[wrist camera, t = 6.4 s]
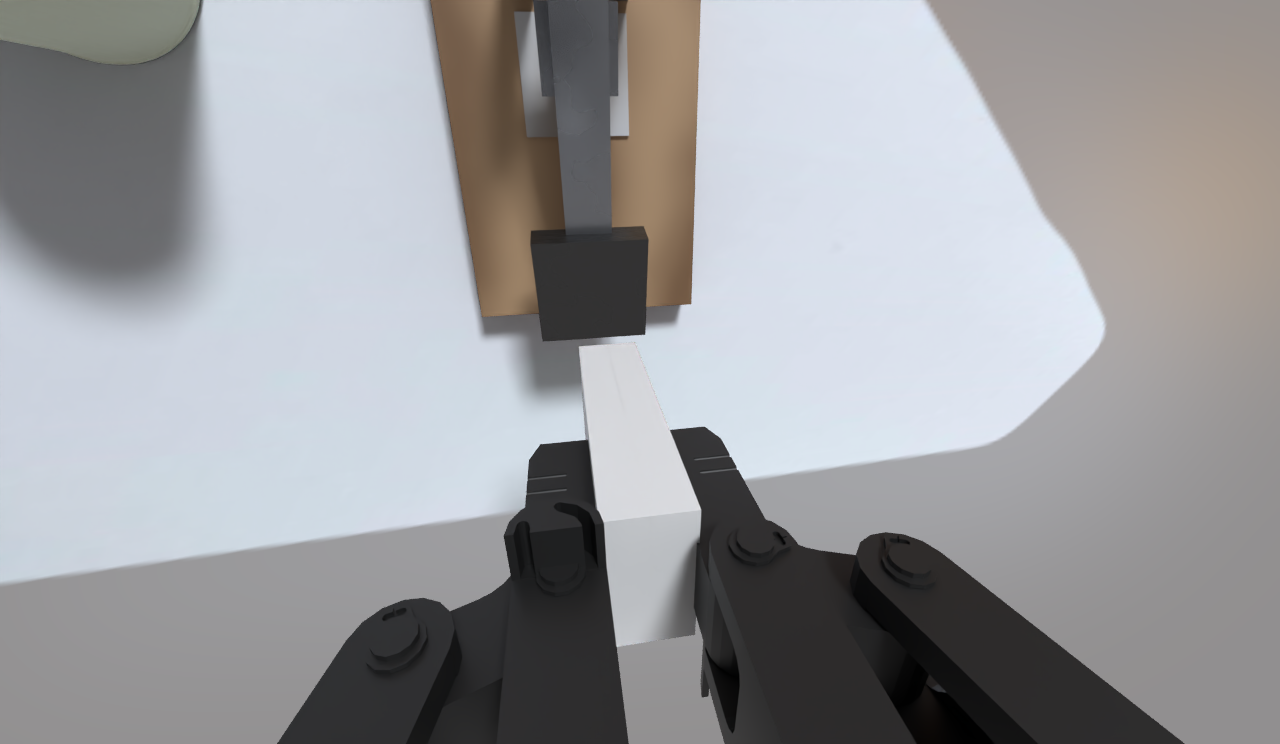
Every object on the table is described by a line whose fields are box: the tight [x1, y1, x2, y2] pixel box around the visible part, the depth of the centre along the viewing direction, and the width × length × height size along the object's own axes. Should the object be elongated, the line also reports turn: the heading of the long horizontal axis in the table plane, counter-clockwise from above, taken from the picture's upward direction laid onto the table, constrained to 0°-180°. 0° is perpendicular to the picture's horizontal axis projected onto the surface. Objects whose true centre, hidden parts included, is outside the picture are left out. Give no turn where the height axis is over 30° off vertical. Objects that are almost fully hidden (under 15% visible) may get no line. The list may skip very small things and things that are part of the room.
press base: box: [431, 0, 701, 317], centre depth 21 cm, size 12×18×11 cm, turn 1°
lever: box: [530, 0, 649, 341], centre depth 20 cm, size 5×17×4 cm, turn 1°
